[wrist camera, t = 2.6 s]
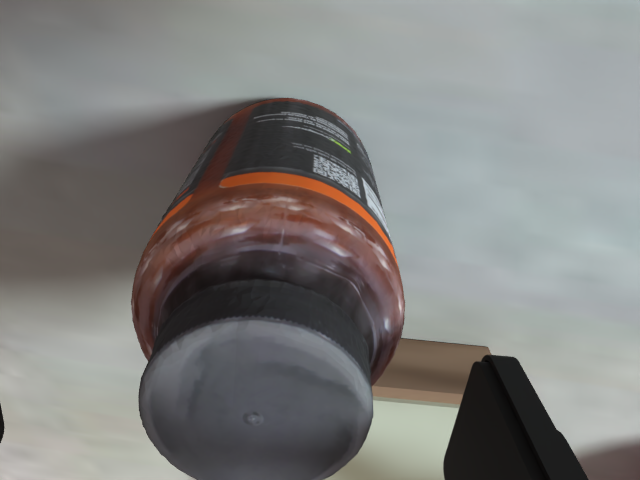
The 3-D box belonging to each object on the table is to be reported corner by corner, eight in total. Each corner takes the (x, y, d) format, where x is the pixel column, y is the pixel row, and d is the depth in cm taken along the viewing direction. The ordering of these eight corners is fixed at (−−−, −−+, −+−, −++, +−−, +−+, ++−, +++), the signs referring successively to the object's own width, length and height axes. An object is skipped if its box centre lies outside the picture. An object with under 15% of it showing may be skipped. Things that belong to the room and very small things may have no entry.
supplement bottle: (212, 250, 20) (102, 532, 10) (196, 92, 17) (24, 262, 7) (369, 251, 20) (414, 535, 10) (377, 93, 17) (451, 265, 7)
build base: (274, 325, 22) (267, 379, 19) (488, 347, 22) (512, 403, 19) (260, 474, 26) (252, 536, 23) (440, 489, 26) (454, 552, 23)
